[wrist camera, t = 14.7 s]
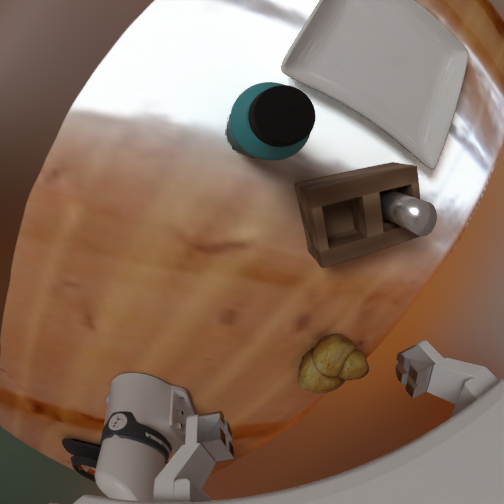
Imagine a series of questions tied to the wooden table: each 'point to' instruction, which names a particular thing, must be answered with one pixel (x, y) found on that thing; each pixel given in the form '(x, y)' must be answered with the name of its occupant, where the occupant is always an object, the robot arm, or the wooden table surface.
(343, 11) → the square plate
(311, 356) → the bread roll
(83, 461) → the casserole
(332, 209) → the socket block
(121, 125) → the wooden table surface
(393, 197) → the steel pin
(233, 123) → the beverage bottle
